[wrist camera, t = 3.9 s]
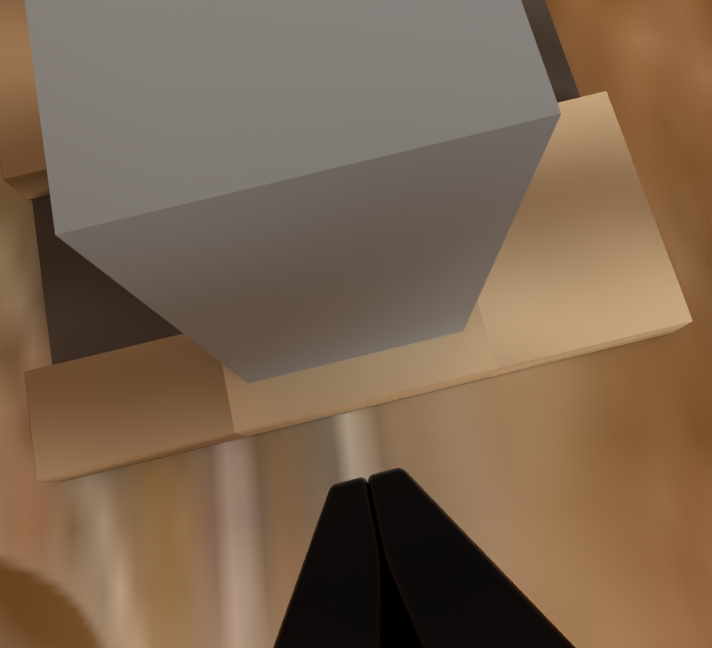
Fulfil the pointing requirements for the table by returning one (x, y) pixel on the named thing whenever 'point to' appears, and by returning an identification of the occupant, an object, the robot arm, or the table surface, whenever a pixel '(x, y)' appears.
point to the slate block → (291, 162)
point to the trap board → (356, 375)
